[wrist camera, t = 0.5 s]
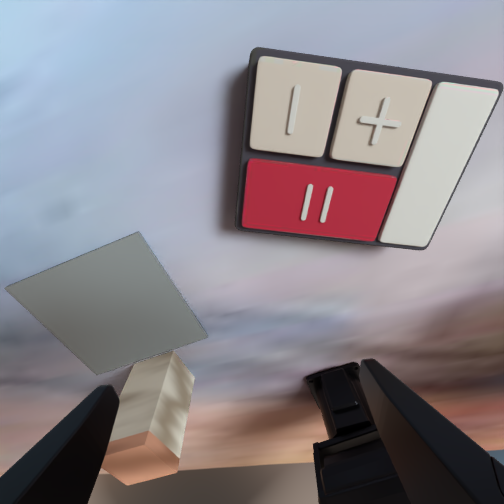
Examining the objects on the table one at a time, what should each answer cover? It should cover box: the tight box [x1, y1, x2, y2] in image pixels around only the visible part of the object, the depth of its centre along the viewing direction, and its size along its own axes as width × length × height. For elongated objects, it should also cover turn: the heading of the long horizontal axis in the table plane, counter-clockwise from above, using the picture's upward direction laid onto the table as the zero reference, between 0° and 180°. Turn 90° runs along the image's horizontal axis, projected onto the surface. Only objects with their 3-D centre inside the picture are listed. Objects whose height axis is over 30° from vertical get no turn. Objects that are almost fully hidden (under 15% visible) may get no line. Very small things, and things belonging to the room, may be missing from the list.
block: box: [101, 351, 195, 485], centre depth 24 cm, size 5×5×9 cm
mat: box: [4, 232, 208, 375], centre depth 24 cm, size 13×14×1 cm
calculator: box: [235, 47, 503, 250], centre depth 17 cm, size 11×4×15 cm
